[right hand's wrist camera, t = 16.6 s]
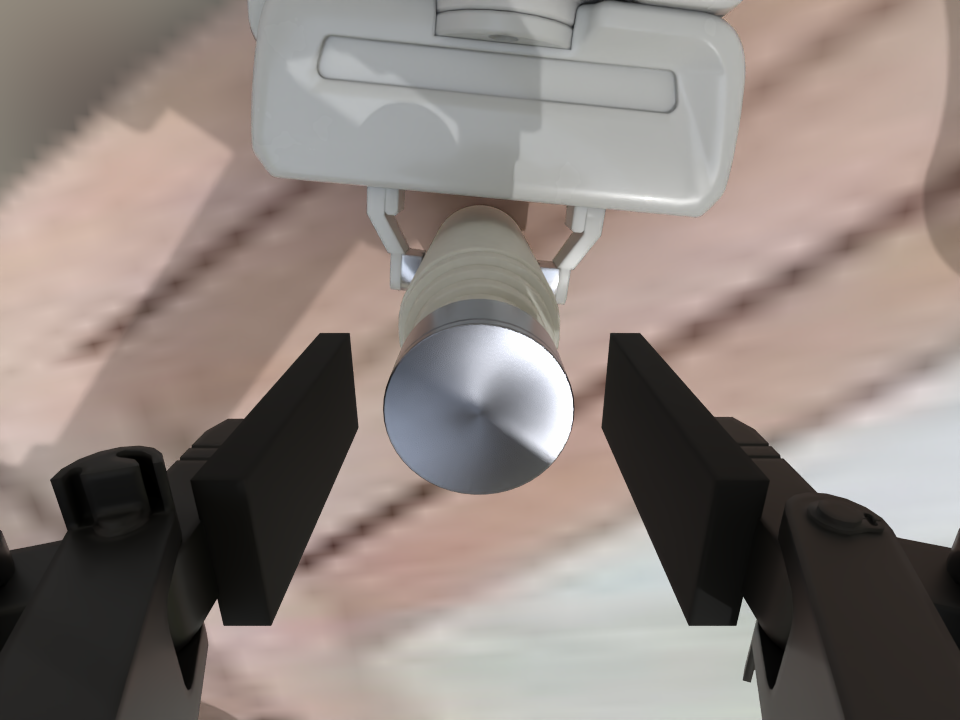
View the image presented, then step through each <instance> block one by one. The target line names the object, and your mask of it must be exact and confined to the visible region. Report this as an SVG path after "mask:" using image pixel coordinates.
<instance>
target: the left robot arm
mask: <svg viewBox="0 0 960 720" xmlns="http://www.w3.org/2000/svg"><path fill="white" fill-rule="evenodd" d="M742 1H743V0H248V17H249V23H250V27H251V31H252V34H253V36H254V38H255V40H256V48H255V58H254V68H253V81H252V103H251V140H252V149H253V152H254V154H255V155H256V157H257V158H258V160H259V161H260V162H261V164H262V165H263V166H264V168H265V169H266V170H267V171H268V173H269V174H270V175H271V176H273V177H276V178H284V179H294V180H305V181H316V182H326V183H337V184H347V185H358V186H367V215H368V216H369V218H370V220H371V222H372V224H373V226H374V228H375V230H376V231H377V233H378V235H379V237H380V239H381V241H382V243H383V244H384V246H385V248H386V250H387V252H388V253H391V263H390V288H391V289H393V290H400V291H401V290H404V291H406V290H407V288H408V286H409V285H410V283H411V281H412V279H413V277H414V275H415V273H416V271H417V269H418V268H419V266H420V264H421V262H422V260H423V258H424V256H425V254H426V250H420V249H411V248H409V245H408V243H407V241H406V239H405V237H404V235H403V233H402V231H401V229H400V227H399V225H398V223H397V221H396V219H395V216H394V215H397V214H398V213H399V212H401V211H402V210H403V209H404V200H405V190H410V191H421V192H432V193H442V194H453V195H463V196H474V197H484V198H495V199H505V200H516V201H526V202H537V203H547V204H558V205H567V209H566V217H565V225H566V226H567V227H568V228H569V229H570V230H572V231H573V233H572V234H571V236H570V237H569V238H568V240H567V241H566V242H565V244H564V245H563V247H562V248H561V249H560V251H559V252H558V253H557V255H556V256H555V258H554V259H553V261H539V260H537V262H538V264H539V266H540V268H541V270H542V272H543V274H544V276H545V278H546V280H547V282H548V283H549V285H550V287H551V289H552V291H553V294H554V296H555V299H556V301H557V304H560V305H564V304H565V302H566V298H567V292H568V285H569V279H570V272H571V270H574V269H575V267H576V266H577V265H578V264H579V262H580V261H581V260H582V259H583V257H584V256H585V255H586V254H587V252H588V251H589V250H590V249H591V247H592V246H593V245H594V244H595V242H596V241H597V240H598V239H599V237H600V236H601V233H602V227H603V221H604V216H605V210H606V209H611V210H621V211H632V212H642V213H653V214H663V215H674V216H685V217H700V216H702V215H703V214H704V213H706V212H707V211H708V210H709V209H710V208H711V207H712V206H713V205H714V204H715V203H716V202H717V201H718V200H719V199H720V198H721V197H722V195H723V193H724V191H725V189H726V186H727V182H728V179H729V175H730V171H731V166H732V162H733V157H734V152H735V147H736V142H737V136H738V131H739V124H740V117H741V111H742V102H743V94H744V84H745V55H744V50H743V46H742V43H741V40H740V38H739V36H738V34H737V32H736V31H735V29H734V28H733V27H732V26H731V25H730V24H729V23H728V22H727V21H725V20H724V19H722V17H723V16H725V15H726V14H728V13H729V12H730V11H731V10H733V9H734V8H735V7H736V6H737V5H739V4H740V3H741V2H742Z"/></svg>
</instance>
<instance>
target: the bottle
mask: <svg viewBox="0 0 960 720" xmlns="http://www.w3.org/2000/svg"><path fill="white" fill-rule="evenodd" d="M468 299H490V300H496V301H500V302H505V303H508V304H510V305H513V306H515V307H517V308H519V309H521V310H523V311H525V312H526V313H528V314H529V315H531V316H532V317H533V318H535V319H536V320H537V321H538V322H539V323H540V324H541V325H542V326H543V327H544V329H545V330H546V331H547V332H548V334H549V335H550V337H551V338H552V340H553V342H554V344H555V346H556V348H557V349H558V344H559V332H560V316H559V309H558V305H557V301H556V299H555V296H554V294H553V291H552V289H551V287H550V285H549V283H548V282H547V280H546V278H545V276H544V274H543V272H542V270H541V268H540V266H539V264H538V262H537V260H536V258H535V256H534V255H533V253H532V251H531V249H530V247H529V245H528V243H527V241H526V239H525V237H524V235H523V233H522V231H521V230H520V228H519V226H518V225H517V224H516V222H515V221H514V220H513V219H512V218H511V217H510V216H509V215H507V214H506V213H505V212H503V211H501V210H499V209H497V208H494V207H490V206H485V205H474V206H468V207H465V208H462V209H460V210H458V211H456V212H455V213H453V214H452V215H450V216H449V217H448V218H447V219H446V220H445V221H444V222H443V224H442V225H441V227H440V228H439V230H438V232H437V234H436V236H435V238H434V239H433V241H432V243H431V245H430V247H429V249H428V251H427V253H426V254H425V256H424V258H423V260H422V262H421V264H420V266H419V268H418V269H417V271H416V273H415V275H414V277H413V279H412V281H411V283H410V285H409V286H408V288H407V290H406V293H405V295H404V297H403V300H402V303H401V307H400V312H399V325H398V326H399V341H400V347H401V348H402V346H403V344H404V342H405V340H406V338H407V336H408V335H409V334H410V332H411V331H412V330H413V328H414V327H415V326H416V325H417V324H418V323H419V322H420V321H421V320H422V319H423V318H425V317H426V316H427V315H429V314H430V313H432V312H433V311H435V310H437V309H438V308H440V307H443V306H445V305H448V304H450V303H454V302H457V301H461V300H468Z"/></svg>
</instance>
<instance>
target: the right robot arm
mask: <svg viewBox="0 0 960 720" xmlns="http://www.w3.org/2000/svg"><path fill="white" fill-rule="evenodd" d="M357 430H358V418H357V407H356V396H355V385H354V375H353V364H352V353H351V343H350V333H320V334H319V335H318V336H317V337H316V338H315V339H314V340H313V342H312V343H311V344H310V345H309V346H308V347H307V348H306V350H305V351H304V352H303V353H302V354H301V355H300V356H299V357H298V359H297V360H296V361H295V362H294V363H293V364H292V365H291V366H290V368H289V369H288V370H287V371H286V372H285V373H284V374H283V376H282V377H281V378H280V379H279V380H278V381H277V382H276V383H275V385H274V386H273V387H272V388H271V389H270V390H269V391H268V393H267V394H266V395H265V396H264V397H263V398H262V399H261V400H260V402H259V403H258V404H257V405H256V406H255V407H254V408H253V410H252V411H251V412H250V413H249V414H248V415H247V416H246V417H245V419H227V420H225V421H223V422H221V423H220V424H218V425H216V426H214V427H212V428H211V429H209V430H207V431H206V432H205V433H204V434H203V435H202V436H201V437H200V438H199V439H198V440H197V441H196V442H195V443H194V444H193V445H192V448H189V449H188V450H187V451H186V452H185V453H184V454H183V455H182V456H181V457H180V461H176V462H175V463H174V464H173V465H172V466H171V467H170V468H169V469H168V470H167V471H166V467H165V463H164V459H163V455H162V453H161V452H159V451H158V450H156V449H155V448H151V447H144V446H129V447H118V448H114V449H110V450H105V451H101V452H97V453H95V454H92V455H89V456H87V457H84V458H81V459H79V460H77V461H75V462H73V463H72V464H70V465H68V466H66V467H64V468H63V469H61V470H60V471H59V472H58V473H57V474H56V475H55V476H54V477H53V478H52V479H51V480H50V481H51V484H52V486H53V489H54V492H55V495H56V498H57V501H58V504H59V507H60V510H61V513H62V516H63V519H64V521H65V524H66V527H67V530H68V531H67V533H66V535H65V536H64V538H63V540H61V541H56V542H51V543H46V544H41V545H35V546H30V547H25V548H20V549H15V550H10V551H9V548H8V546H7V543H6V541H5V538H4V536H3V533H2V531H1V530H0V720H198V715H199V708H200V701H201V694H202V686H203V679H204V672H205V665H206V658H207V651H208V639H207V632H206V628H205V624H204V620H205V618H206V617H207V615H208V613H209V612H210V610H211V608H212V607H213V605H214V603H215V601H216V600H217V599H218V603H219V608H220V612H221V616H222V621H223V625H224V626H271V625H272V623H273V620H274V618H275V616H276V614H277V611H278V609H279V607H280V605H281V602H282V600H283V598H284V596H285V593H286V591H287V589H288V586H289V584H290V582H291V580H292V577H293V575H294V573H295V571H296V568H297V566H298V564H299V561H300V559H301V557H302V555H303V552H304V550H305V548H306V546H307V543H308V541H309V539H310V537H311V534H312V532H313V530H314V527H315V525H316V523H317V521H318V518H319V516H320V514H321V512H322V509H323V507H324V505H325V502H326V500H327V498H328V496H329V493H330V491H331V489H332V487H333V484H334V482H335V480H336V478H337V475H338V473H339V471H340V468H341V466H342V464H343V462H344V459H345V457H346V455H347V453H348V450H349V448H350V446H351V443H352V441H353V439H354V437H355V434H356V432H357ZM602 430H603V432H604V434H605V437H606V439H607V441H608V443H609V446H610V448H611V450H612V453H613V455H614V457H615V459H616V462H617V464H618V466H619V468H620V471H621V473H622V475H623V478H624V480H625V482H626V484H627V487H628V489H629V491H630V493H631V496H632V498H633V500H634V502H635V505H636V507H637V509H638V512H639V514H640V516H641V518H642V521H643V523H644V525H645V527H646V530H647V532H648V534H649V537H650V539H651V541H652V543H653V546H654V548H655V550H656V552H657V555H658V557H659V559H660V561H661V564H662V566H663V568H664V571H665V573H666V575H667V577H668V580H669V582H670V584H671V586H672V589H673V591H674V593H675V596H676V598H677V600H678V602H679V605H680V607H681V609H682V611H683V614H684V616H685V618H686V620H687V623H688V625H689V626H736V625H737V621H738V616H739V612H740V608H741V603H742V599H743V597H744V599H745V600H746V602H747V604H748V605H749V607H750V609H751V610H752V612H753V614H754V615H755V617H756V619H757V620H756V624H755V628H754V632H753V636H752V641H751V645H750V649H749V653H748V657H747V661H746V665H745V669H744V676H743V681H747V682H751V679H752V675H753V672H754V670H755V671H756V678H757V685H758V692H759V699H760V706H761V713H762V720H960V528H959V531H958V533H957V536H956V538H955V541H954V543H953V546H952V548H948V547H943V546H938V545H933V544H928V543H922V542H917V541H912V540H907V539H902V538H898V537H896V535H895V534H894V532H893V530H892V529H891V528H890V527H889V525H888V524H887V523H886V522H885V521H884V520H883V519H882V518H881V517H880V516H878V515H877V514H875V513H874V512H872V511H871V510H869V509H868V508H866V507H864V506H862V505H859V504H857V503H855V502H853V501H850V500H848V499H845V498H841V497H837V496H834V495H830V494H825V493H817V492H816V491H815V490H814V489H813V488H812V487H811V486H810V485H809V484H808V483H807V482H806V481H805V480H804V479H803V478H802V477H801V476H800V475H799V474H798V473H797V472H796V471H795V470H794V469H793V468H792V467H791V466H790V465H789V464H788V463H787V462H786V461H785V460H784V459H781V458H780V455H779V454H778V453H777V452H776V451H775V450H774V449H773V447H772V446H769V443H768V442H767V441H766V440H765V439H764V438H763V437H762V436H761V435H760V434H759V433H758V432H757V431H756V430H755V429H753V428H751V427H749V426H748V425H746V424H744V423H742V422H740V421H739V420H737V419H735V418H733V417H714V416H713V415H712V414H711V413H710V412H709V411H708V410H707V408H706V407H705V406H704V405H703V404H702V403H701V402H700V400H699V399H698V398H697V397H696V396H695V395H694V394H693V393H692V391H691V390H690V389H689V388H688V387H687V386H686V385H685V383H684V382H683V381H682V380H681V379H680V378H679V377H678V376H677V374H676V373H675V372H674V371H673V370H672V369H671V368H670V366H669V365H668V364H667V363H666V362H665V361H664V360H663V359H662V357H661V356H660V355H659V354H658V353H657V352H656V351H655V350H654V348H653V347H652V346H651V345H650V344H649V343H648V342H647V340H646V339H645V338H644V337H643V336H642V335H641V334H640V333H610V343H609V353H608V364H607V375H606V385H605V396H604V407H603V418H602Z"/></svg>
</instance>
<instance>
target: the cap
mask: <svg viewBox="0 0 960 720" xmlns="http://www.w3.org/2000/svg"><path fill="white" fill-rule="evenodd" d="M383 414H384V422H385V427H386V431H387V434H388V436H389V439H390V441H391V443H392V445H393V447H394V449H395V451H396V452H397V454H398V455H399V456H400V458H401V459H402V460H403V462H404V463H405V464H406V465H407V466H408V467H409V468H410V469H411V470H413V471H414V472H415V473H416V474H418V475H419V476H420V477H422V478H423V479H425V480H427V481H428V482H430V483H432V484H434V485H436V486H438V487H441V488H444V489H447V490H450V491H454V492H458V493H464V494H474V495H479V494H493V493H500V492H504V491H508V490H511V489H514V488H517V487H519V486H522V485H524V484H526V483H528V482H530V481H531V480H533V479H534V478H536V477H537V476H539V475H540V474H541V473H543V472H544V471H545V470H546V469H547V468H549V466H550V465H551V464H552V463H553V462H554V461H555V460H556V459H557V457H558V456H559V454H560V453H561V452H562V450H563V448H564V446H565V444H566V443H567V441H568V438H569V435H570V433H571V430H572V425H573V420H574V397H573V392H572V388H571V384H570V382H569V379H568V377H567V374H566V371H565V369H564V366H563V364H562V361H561V359H560V356H559V353H558V351H557V348H556V346H555V344H554V342H553V340H552V338H551V337H550V335H549V334H548V332H547V331H546V330H545V329H544V327H543V326H542V325H541V324H540V323H539V322H538V321H537V320H536V319H535V318H533V317H532V316H531V315H529V314H528V313H526V312H525V311H523V310H521V309H519V308H517V307H515V306H513V305H510V304H508V303H505V302H500V301H496V300H490V299H468V300H461V301H457V302H454V303H450V304H448V305H445V306H443V307H440V308H438V309H437V310H435V311H433V312H432V313H430V314H429V315H427V316H426V317H425V318H423V319H422V320H421V321H420V322H419V323H418V324H417V325H416V326H415V327H414V328H413V330H412V331H411V332H410V334H409V335H408V336H407V338H406V340H405V342H404V344H403V346H402V348H401V350H400V353H399V355H398V358H397V360H396V363H395V365H394V368H393V370H392V373H391V375H390V378H389V381H388V383H387V386H386V390H385V395H384V403H383Z"/></svg>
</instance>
